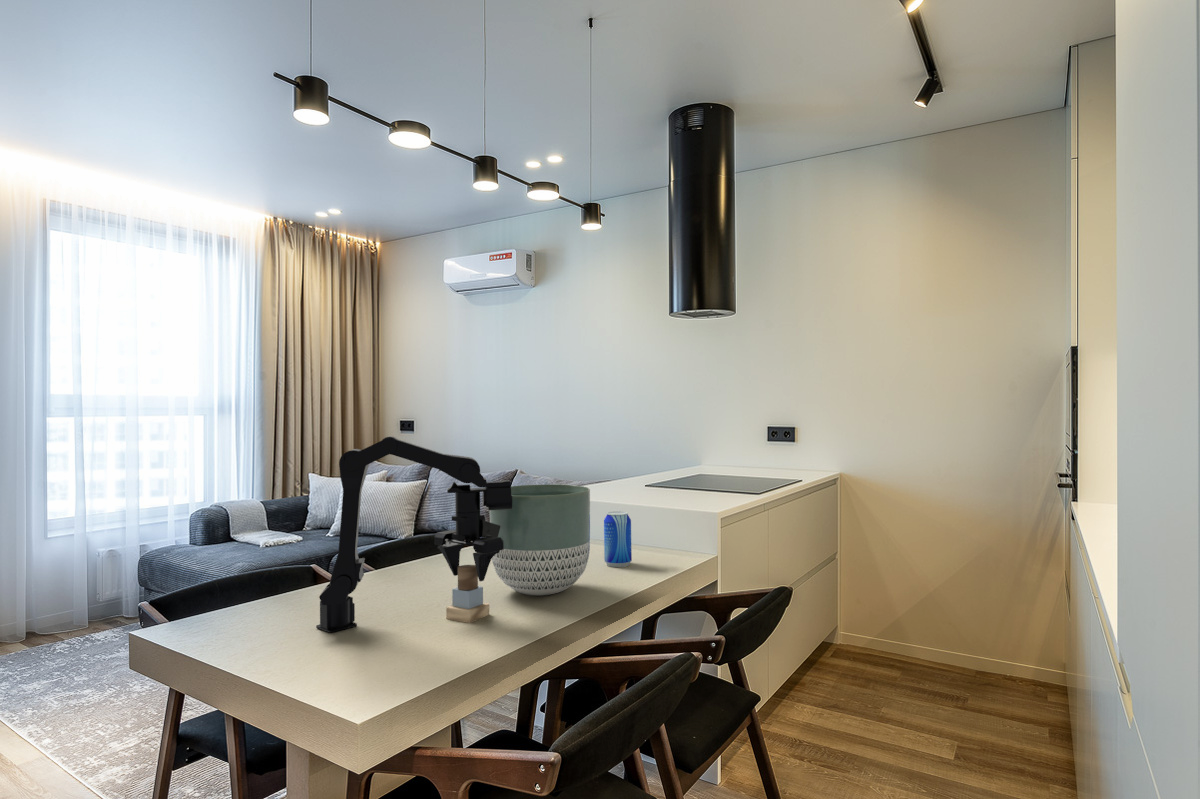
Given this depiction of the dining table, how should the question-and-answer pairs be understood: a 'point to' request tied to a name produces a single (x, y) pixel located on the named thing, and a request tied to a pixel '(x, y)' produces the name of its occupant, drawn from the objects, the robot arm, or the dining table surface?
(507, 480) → the robot arm
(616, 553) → the beer can
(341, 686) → the dining table surface
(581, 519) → the planter
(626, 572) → the dining table surface
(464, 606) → the top block
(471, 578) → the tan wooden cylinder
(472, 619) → the base block
